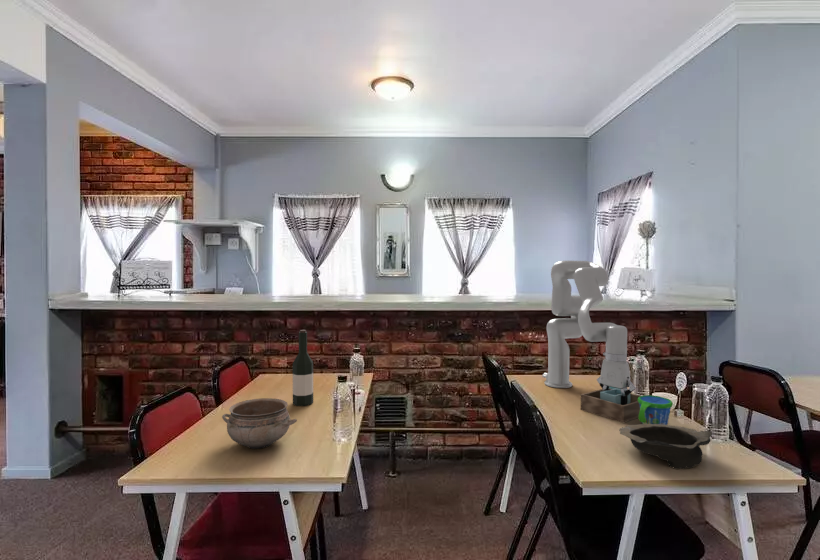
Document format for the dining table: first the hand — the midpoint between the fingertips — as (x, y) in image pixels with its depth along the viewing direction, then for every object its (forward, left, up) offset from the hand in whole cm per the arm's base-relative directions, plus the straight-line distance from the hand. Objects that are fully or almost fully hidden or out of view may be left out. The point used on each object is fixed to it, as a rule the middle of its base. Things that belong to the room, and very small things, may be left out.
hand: (615, 402), depth 178 cm
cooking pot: (-42, -125, -4) cm, 132 cm away
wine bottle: (-76, -98, -4) cm, 124 cm away
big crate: (0, 0, -4) cm, 4 cm away
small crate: (0, 0, -1) cm, 1 cm away
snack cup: (+18, -5, -4) cm, 19 cm away
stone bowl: (+32, -26, -4) cm, 41 cm away
